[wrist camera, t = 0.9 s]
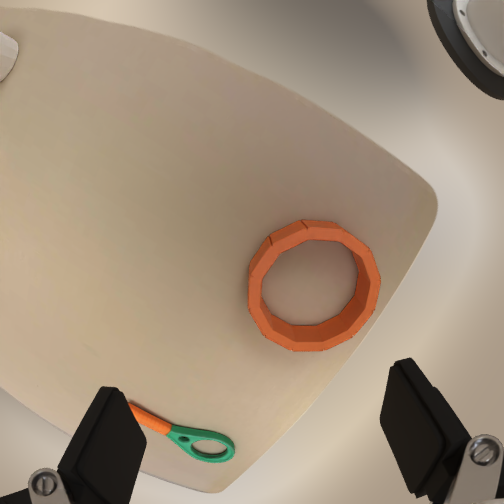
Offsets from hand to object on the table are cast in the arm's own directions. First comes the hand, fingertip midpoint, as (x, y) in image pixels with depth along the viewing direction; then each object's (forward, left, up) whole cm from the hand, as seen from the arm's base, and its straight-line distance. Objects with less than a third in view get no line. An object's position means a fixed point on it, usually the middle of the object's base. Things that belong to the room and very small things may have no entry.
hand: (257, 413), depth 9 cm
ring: (-1, +6, -18) cm, 18 cm away
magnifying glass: (+24, +5, -18) cm, 30 cm away
